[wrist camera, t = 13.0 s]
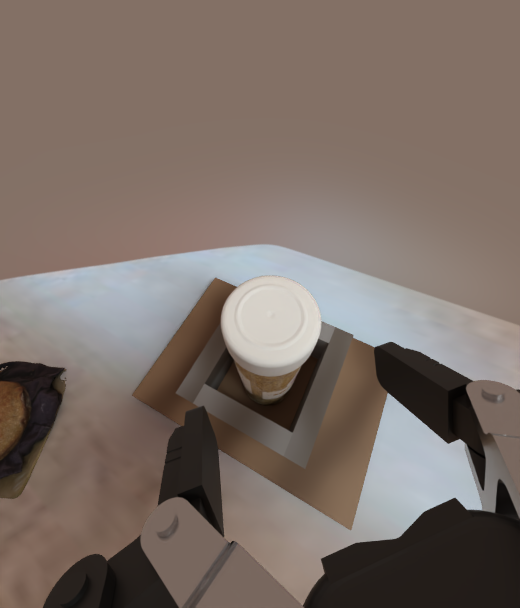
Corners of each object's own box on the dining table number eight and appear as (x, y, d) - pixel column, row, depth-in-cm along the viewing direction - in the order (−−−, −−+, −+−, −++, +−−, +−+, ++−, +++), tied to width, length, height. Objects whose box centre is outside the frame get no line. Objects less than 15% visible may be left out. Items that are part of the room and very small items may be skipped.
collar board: (137, 396, 23) (103, 386, 18) (216, 282, 29) (207, 251, 24) (346, 526, 19) (375, 556, 14) (392, 360, 25) (423, 340, 20)
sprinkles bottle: (288, 410, 22) (318, 377, 10) (236, 399, 22) (205, 354, 10) (295, 359, 24) (327, 279, 12) (248, 349, 24) (233, 264, 12)
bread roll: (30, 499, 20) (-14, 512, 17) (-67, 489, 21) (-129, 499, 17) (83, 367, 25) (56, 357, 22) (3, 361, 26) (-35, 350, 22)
